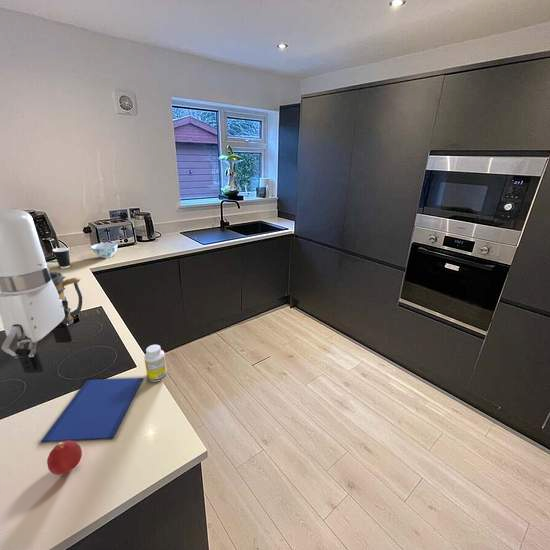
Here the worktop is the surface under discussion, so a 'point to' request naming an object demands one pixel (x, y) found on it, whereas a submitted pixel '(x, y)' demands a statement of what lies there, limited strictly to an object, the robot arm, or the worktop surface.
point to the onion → (64, 457)
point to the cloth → (95, 410)
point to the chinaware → (105, 249)
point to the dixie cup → (62, 257)
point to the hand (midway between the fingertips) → (51, 355)
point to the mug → (59, 285)
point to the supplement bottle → (155, 363)
